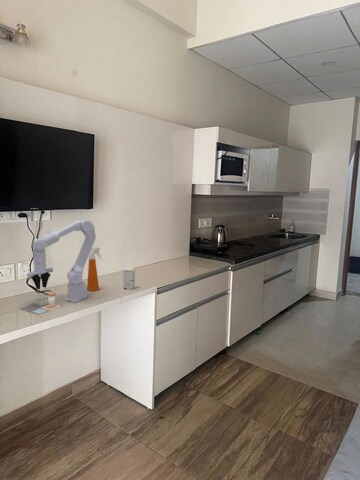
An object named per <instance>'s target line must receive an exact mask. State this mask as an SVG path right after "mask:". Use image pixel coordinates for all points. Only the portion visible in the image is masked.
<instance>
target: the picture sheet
mask: <svg viewBox="0 0 360 480" xmlns="http://www.w3.org/2000/svg"><path fill="white" fill-rule="evenodd" d="M61 307H64V305H62V304H58V303H55V307H54V308H49V303H48V304H45V305H42V306H41V305H36V304H35V303H34V304H33V303H32V304H31V305H28V306H24V307H21V308H19V309H18V310H20V311H24V312H27V313H32V314H35V315H42V314H44V313H48V312H50V311H53V310H55V309H59V308H61Z"/></svg>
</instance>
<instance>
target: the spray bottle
mask: <svg viewBox="0 0 360 480" xmlns="http://www.w3.org/2000/svg"><path fill="white" fill-rule="evenodd" d="M100 250H101V247H100V246H95V247H92V248H91V251H90V253H89V256H88V268H87V269H88V270H87V271H88V272H87V282H86V283H87V284H86V290H87V291H88V292H96V290H97V291H99V290H100V286H99V279H98V278H99V276H98V270H97V261H96V256H98V258H99V259H100V260H101V261H103V260H104V258H103V257H102V255H101V254H100ZM95 254H96V255H95Z"/></svg>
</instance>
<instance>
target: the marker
mask: <svg viewBox="0 0 360 480" xmlns="http://www.w3.org/2000/svg"><path fill="white" fill-rule="evenodd" d="M47 299H48V303H49V308H54V307H55V304H56V292H55V291H49V292H47Z"/></svg>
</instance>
